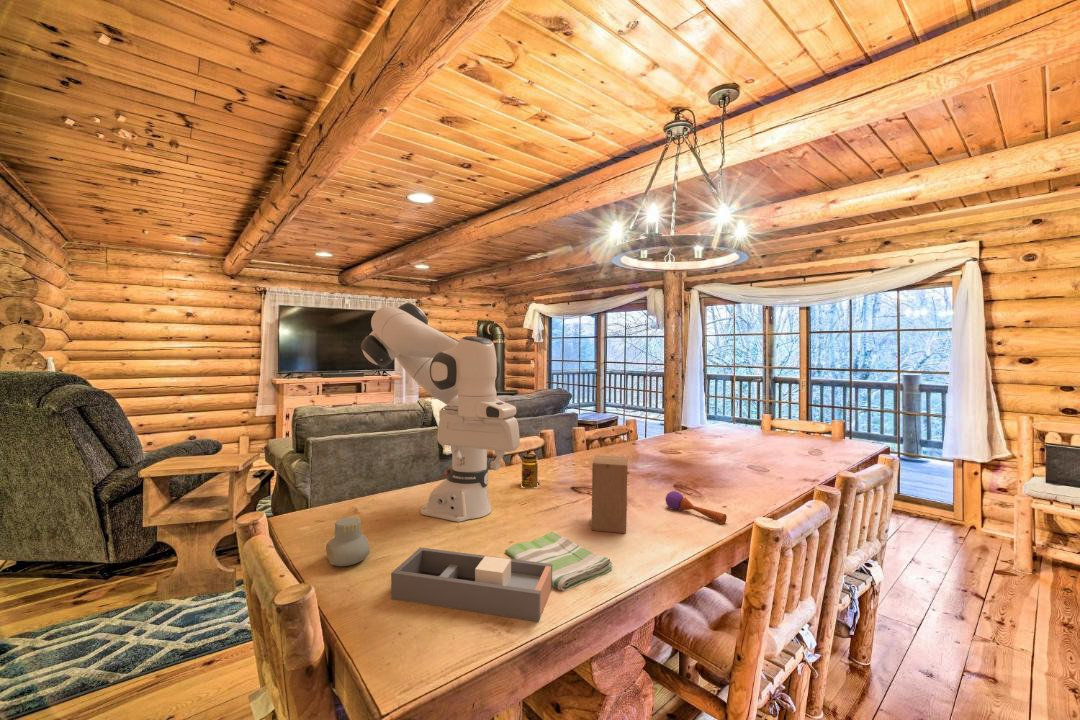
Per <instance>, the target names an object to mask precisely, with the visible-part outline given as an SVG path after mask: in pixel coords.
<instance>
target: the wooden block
mask: <svg viewBox="0 0 1080 720" xmlns="http://www.w3.org/2000/svg"><path fill="white" fill-rule="evenodd" d="M628 459H629V458H628V457H627V456H614V455H600V454H599V455H598V454H597V455H594V458H593V461H592V465H591V466H592V469H591V470H592V471H591V474H592V475H591V479H592V480H591V528H590V529H591V530H592V531H597V532H607V533H619V534H626V533H627V514H628V513H627V512H628V511H627V510H628V508H627V507H628Z"/></svg>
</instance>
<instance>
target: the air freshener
mask: <svg viewBox="0 0 1080 720" xmlns="http://www.w3.org/2000/svg"><path fill="white" fill-rule="evenodd" d="M361 525H362V523H361V519H360V518H359V517H357V516H348V517H343V518H339V519H338V520H336V521H335V523H334V537H333V538H331V539H330V540H329V541H328V542H327V543H326V547H325V553H326V556H327V557H326V558H327V559H328V562H329V564H330V565H334V566H336V567H349V566H353V565H355V564H358V563H359V562H361V561H363V560H364V559H365V558H367V557H368V555H369V554H370V551H371V550H370V548H371V547H370V543H369V540H368V537H366V535H365V534H362V532H361V531H362V529H361V527H362V526H361Z"/></svg>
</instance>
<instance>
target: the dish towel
mask: <svg viewBox="0 0 1080 720" xmlns="http://www.w3.org/2000/svg"><path fill="white" fill-rule="evenodd" d="M504 553H505V554H506V555H507V556H508V557H510V559H516V560H524V561H532V562H540V563H548V564H552V588H555V589H557V590H558V591H563V592H564V591H565V592H567V591H568V590H570V589H572V588H575V587H576V586H579V585H581V584H583V583H586V582H588V581H590V580H593V579H595V578H597V577H601V576H603V575H604V574H606V573H608V572H611V571H612V568H613V567H614V565H612V564H613V562H612V561H611V559H610V558H609V557H606V556H602V555H599V554H596V553H594V552H593V551H591V550H589V549H588V548H586V547H583V546H581V545H578V544H576V543H575V542H573V541H572V540H570V539H568V538H566V537H565V536H562V535H561V534H558V533H556V532H554V531H551V532H548V533H546V534H545V535H543V536H541V537H540V536H539V537H538V538H535V539H533V540H530V541H525V542H524V541H523V542H517V543H515V544H513V545H510V546H509V547H508V548H506V549H505V550H504Z"/></svg>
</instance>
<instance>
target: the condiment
mask: <svg viewBox="0 0 1080 720" xmlns="http://www.w3.org/2000/svg"><path fill="white" fill-rule="evenodd" d="M537 457H538V456H537V454H535V453H524V454H523V456H522V463H521V482H522V486H523V487H525V488H524V489H535V488H534V487H537V483H538V485H539V486H540V483H541V482H540V481H538V479H539V478H538V473H539V472H538V470H539V469H538V468H539V466H538V463H539V462H538V459H537Z"/></svg>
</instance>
